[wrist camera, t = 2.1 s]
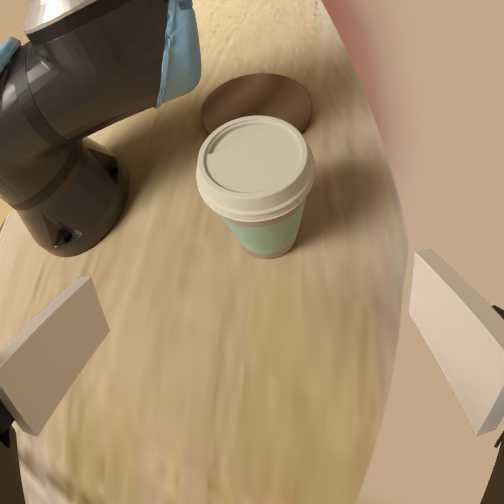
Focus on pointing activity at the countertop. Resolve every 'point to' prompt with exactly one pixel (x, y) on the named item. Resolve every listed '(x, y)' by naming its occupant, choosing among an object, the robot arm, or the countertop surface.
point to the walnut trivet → (258, 101)
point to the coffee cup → (257, 181)
